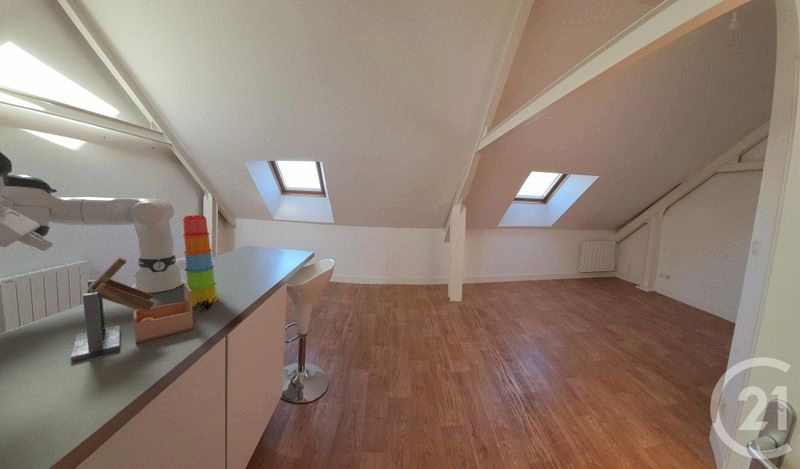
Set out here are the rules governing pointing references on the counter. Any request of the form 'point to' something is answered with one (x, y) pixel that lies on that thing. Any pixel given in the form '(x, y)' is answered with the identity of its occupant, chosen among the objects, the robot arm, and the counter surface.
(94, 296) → the lever stand
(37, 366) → the counter surface
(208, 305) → the creature
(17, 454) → the counter surface
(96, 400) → the counter surface
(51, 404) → the counter surface
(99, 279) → the lever
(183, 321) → the cup
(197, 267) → the stacking cups
